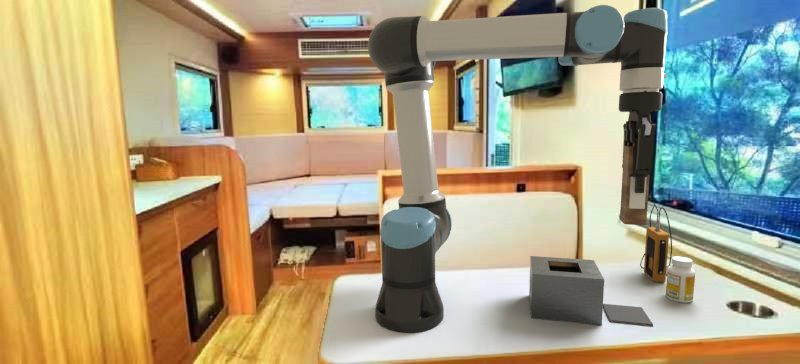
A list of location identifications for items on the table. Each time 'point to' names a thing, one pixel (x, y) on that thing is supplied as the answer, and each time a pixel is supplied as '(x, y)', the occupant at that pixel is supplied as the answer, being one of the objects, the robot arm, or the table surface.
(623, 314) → the rest mat
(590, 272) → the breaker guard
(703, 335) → the table surface
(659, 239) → the multimeter
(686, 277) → the supplement bottle
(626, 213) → the brown rectangular block
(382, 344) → the table surface
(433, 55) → the robot arm
